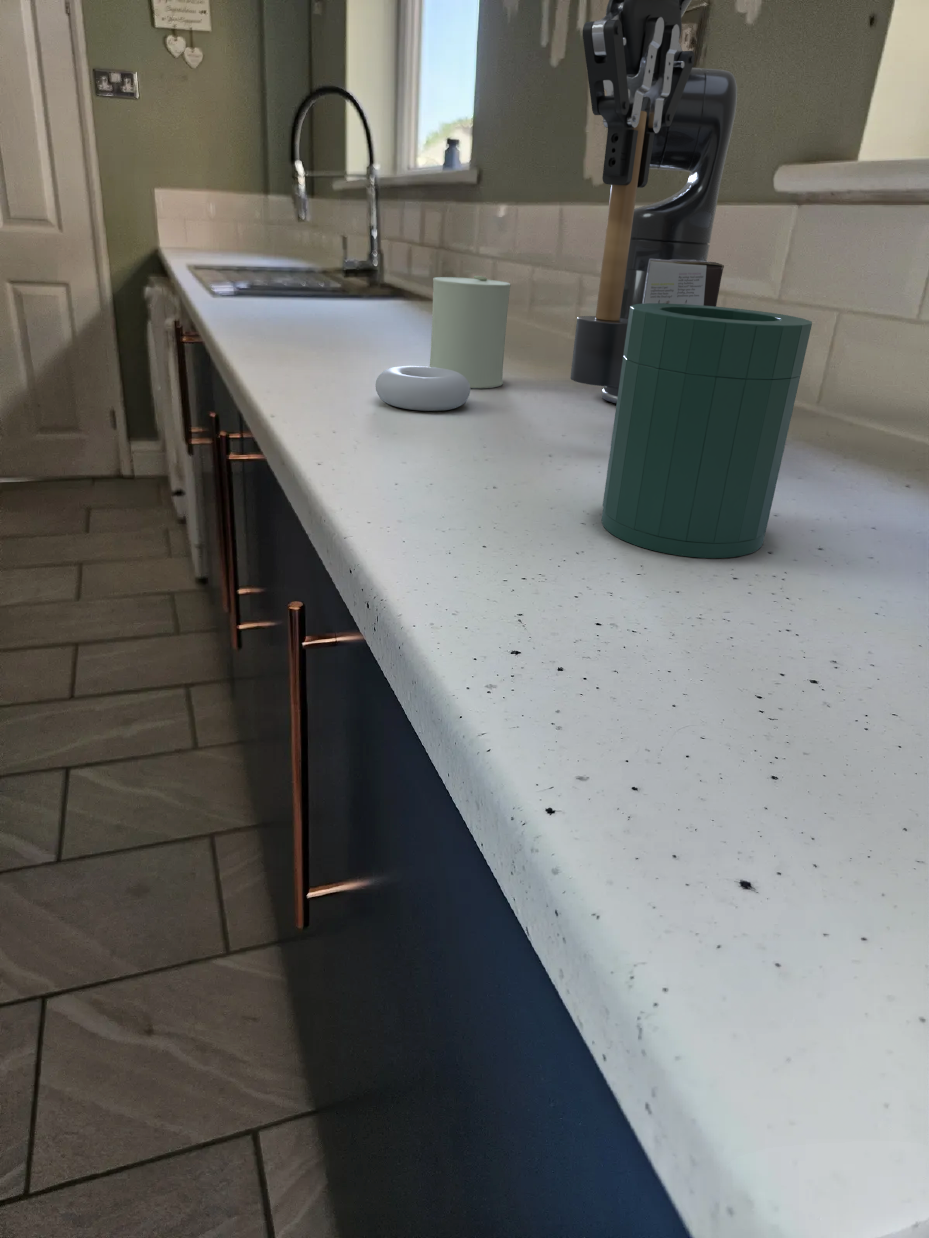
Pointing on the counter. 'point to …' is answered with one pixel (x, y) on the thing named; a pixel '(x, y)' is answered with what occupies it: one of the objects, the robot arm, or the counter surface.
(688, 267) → the coffee box
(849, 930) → the counter surface
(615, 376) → the brush
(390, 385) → the donut
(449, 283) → the can
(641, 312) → the green utensil holder
